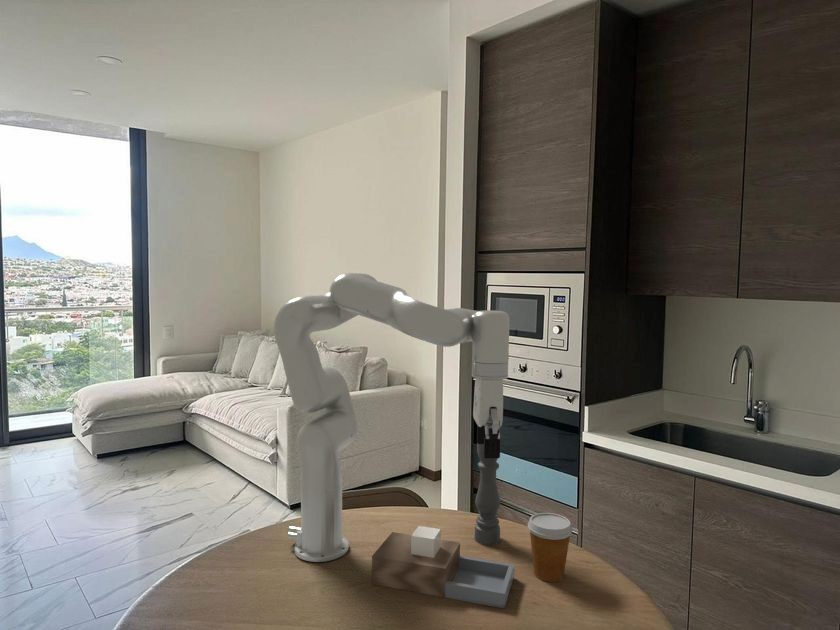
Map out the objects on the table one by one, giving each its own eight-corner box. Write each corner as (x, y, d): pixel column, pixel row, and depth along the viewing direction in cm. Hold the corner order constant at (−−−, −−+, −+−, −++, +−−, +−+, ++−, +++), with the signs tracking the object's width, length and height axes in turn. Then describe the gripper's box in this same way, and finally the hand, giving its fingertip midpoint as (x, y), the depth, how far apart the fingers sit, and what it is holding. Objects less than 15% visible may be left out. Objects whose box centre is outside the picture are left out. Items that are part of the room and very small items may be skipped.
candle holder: (499, 546, 136) (500, 444, 135) (473, 543, 137) (474, 442, 136) (500, 535, 142) (502, 437, 141) (475, 532, 143) (477, 435, 142)
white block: (411, 554, 120) (411, 535, 119) (418, 543, 124) (418, 525, 124) (433, 557, 118) (434, 539, 118) (440, 547, 123) (440, 529, 123)
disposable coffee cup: (546, 590, 117) (547, 534, 116) (517, 569, 126) (518, 516, 125) (580, 579, 122) (582, 525, 121) (551, 559, 130) (552, 508, 129)
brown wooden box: (371, 583, 119) (371, 556, 119) (392, 557, 130) (392, 531, 130) (445, 597, 114) (445, 568, 114) (459, 568, 126) (460, 542, 125)
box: (445, 597, 114) (445, 583, 114) (459, 568, 126) (459, 555, 125) (504, 608, 110) (504, 593, 110) (513, 578, 122) (514, 564, 122)
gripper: (467, 363, 126) (465, 438, 128) (477, 377, 109) (475, 464, 110) (500, 363, 127) (498, 438, 128) (516, 377, 109) (514, 464, 111)
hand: (488, 450), depth 119 cm, fingers open, 9 cm apart
